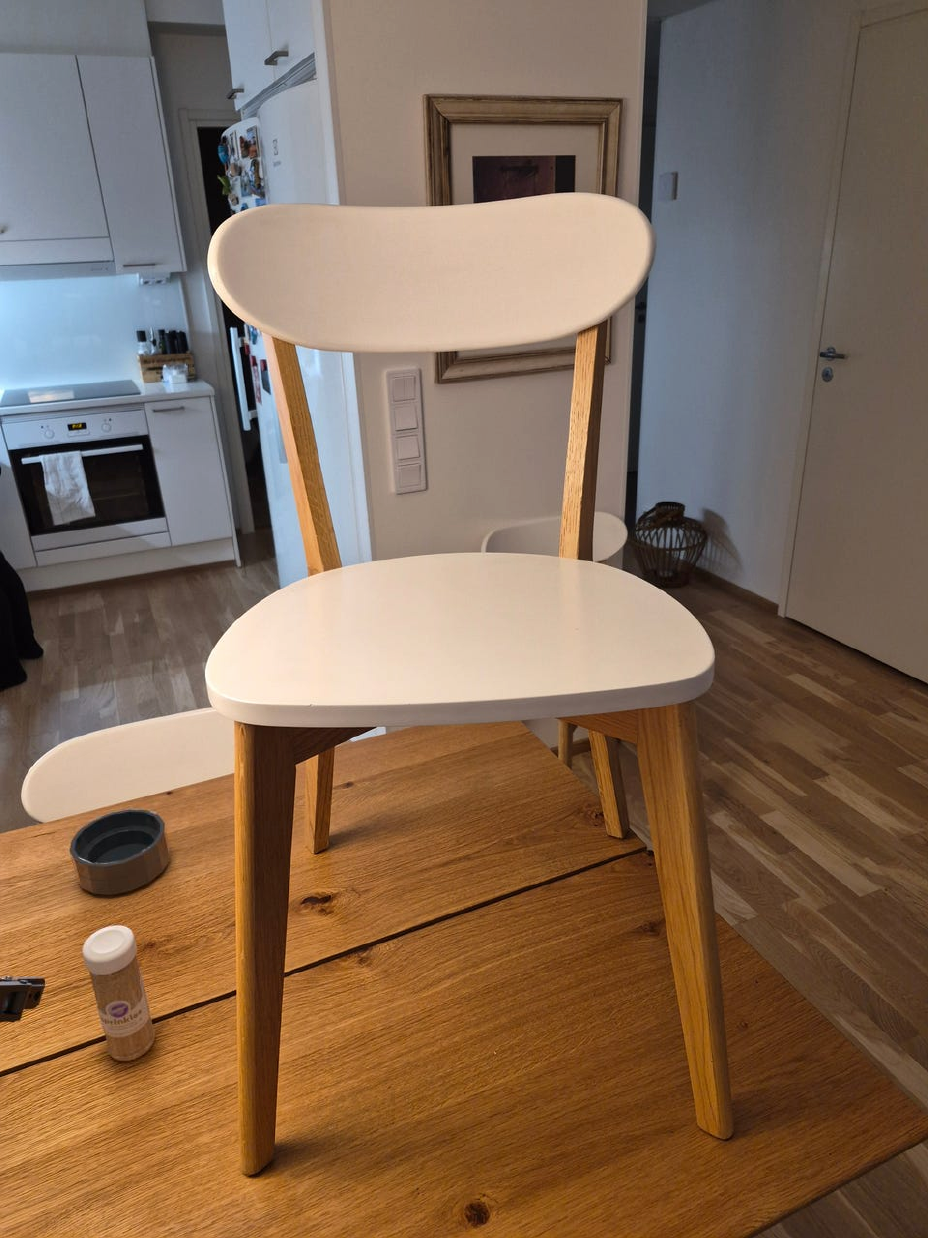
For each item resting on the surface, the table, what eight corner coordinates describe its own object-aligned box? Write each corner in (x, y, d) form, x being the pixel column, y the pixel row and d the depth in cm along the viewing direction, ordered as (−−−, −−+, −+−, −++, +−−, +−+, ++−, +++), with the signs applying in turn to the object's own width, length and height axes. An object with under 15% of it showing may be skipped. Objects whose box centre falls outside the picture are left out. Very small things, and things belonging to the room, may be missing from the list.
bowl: (60, 896, 102) (51, 863, 100) (105, 837, 112) (97, 807, 110) (147, 900, 101) (140, 868, 99) (184, 841, 111) (178, 811, 109)
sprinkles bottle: (112, 1071, 79) (85, 967, 74) (104, 1036, 83) (77, 935, 78) (161, 1049, 82) (138, 947, 76) (151, 1016, 85) (128, 916, 80)
